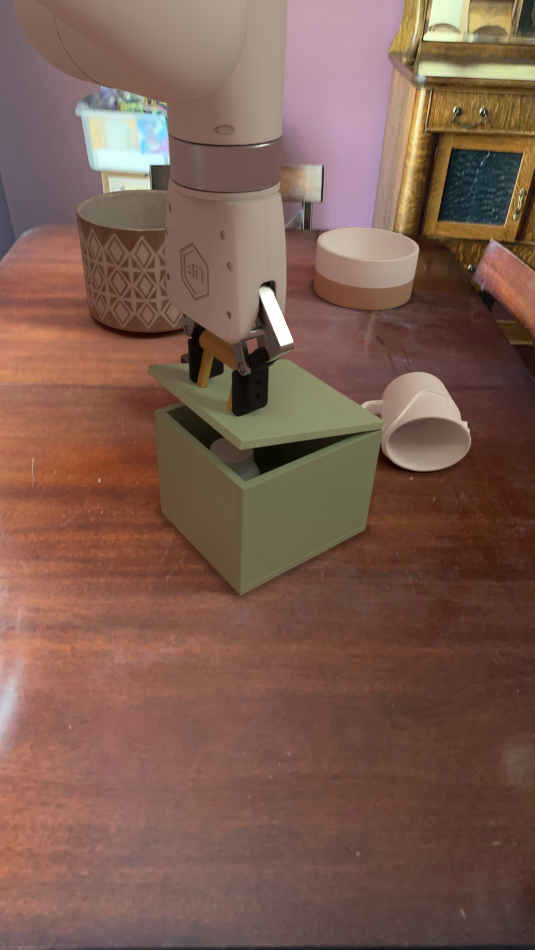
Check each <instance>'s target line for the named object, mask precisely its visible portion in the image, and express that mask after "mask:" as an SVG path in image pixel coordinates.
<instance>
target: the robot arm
mask: <svg viewBox="0 0 535 950" xmlns="http://www.w3.org/2000/svg"><path fill="white" fill-rule="evenodd" d="M12 5H13V10H14V13H15V17H16V20H17V22H18V25H19V27H20V29H21V31H22V33H23V35H24V37H25V38H26V40H27V41H28V43H29V44H30V45H31V47H32V48H33V49H34V51H35V52H36V53H38V55H39V56H40V57H41V58H43V60H45V61H46V62H47V63H48V64H49V65H50V66H52V67H54V69H56V70H58V71H60V72H62V73H63V74H65V75H67V76H70V77H72V78H74V79H77V80H80V81H83V82H87V83H91V84H94V85H98V86H101V87H104V88H108V89H114V90H118V91H122V92H125V93H130V94H132V95H136V96H139V97H143V98H146V99H149V100H153V101H157V102H160V103H164V104H166V120H167V139H168V154H169V155H168V156H169V172H170V175H169V179H168V184H167V190H166V191H167V201H166V217H165V269H166V288H167V296H168V299H169V301H170V302H171V303H172V305H173V306H174V307H176V308H177V309H178V310H179V311H181V312H182V313H183V315H184V318H185V321H184V328H183V331H184V334H185V336H186V337H188V339H187V353H188V356H189V377H190V380H191V381H193V382H194V383H197V380H198V375H199V370H200V366H201V361H202V356H203V351H204V349H203V348H202V347H201V346H200V344H199V338H200V335H201V334H202V332H203V331H205V330H209V331H210V332H212V333H213V334H215V335H216V336H217V337H219V338H221V339H222V340H224V341H226V342H228V343H232V344H233V349H234V354H235V359H236V364H237V370H234V371H232V412H233V414H235V415H236V416H237V417H239V416H242V415H245V414H247V413H250V412H253V411H255V410H258V409H260V408H263V407H265V406H266V405H267V403H268V380H269V367H271V366H273V365H274V362H276V361H277V360H278V359H282V357H284V356H285V355H287V354H288V353H290V352H291V351H293V350H294V349H295V342H294V339H293V336H292V334H291V331H290V329H289V327H288V324H287V322H286V319H285V313H286V312H285V311H286V302H287V241H286V240H287V239H286V229H285V228H286V227H285V217H284V207H283V198H282V193H281V192H280V189H281V178H282V177H281V175H282V154H283V153H282V147H283V124H284V123H283V122H284V98H285V74H286V72H285V71H286V48H287V47H286V46H287V45H286V43H287V22H288V21H287V19H288V0H12ZM252 339H253V340H254V339H255V340H256V344H257V348H255V349H254V350H253V351H252V352H251V353H249V349H248V343H247V341H250V340H252ZM249 354H250V355H249ZM223 372H224V363H222V362H221V361H220V360H218V359H217V358H215V357H213V361H212V366H211V371H210V376H209V378H212V377H215V376H218V375H221V374H223Z"/></svg>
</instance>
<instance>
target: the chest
mask: <svg viewBox="0 0 535 950" xmlns="http://www.w3.org/2000/svg"><path fill="white" fill-rule="evenodd" d="M153 414H154V424H155V425H154V426H155V441H156V443H155V444H156V457H157V470H158V471H157V472H158V484H159V500H160V513H162V514H163V515H164V516H165V518H167V520H168V521H169V522H171V524H172V525H173V526H174V527H175V528H176V529H177V530H178V531H179V532H180V534H182V536H183V537H184V538H185V539H186V540H187V541H188V542H189V543H190V544H191V545H192V547H194V548H195V549H196V550H197V552H198V553H200V555H201V556H202V557H203V558H204V559H205V560H206V561H207V562H208V563H209V564H210V565H211V567H212V568H214V570H215V571H216V572H217V573H218V574H219V575H220V576H221V577H222V578H223V579H224V580H225V581H226V582H227V584H228V585H229V586H230V587H231V588H232V589H233V590H234V591H235V592H236V593H237V594H238V595H239V596H242V595H245V594H246V593H248V592H250V591H252V590H254V589H256V588H258V587H260V586H262V585H264V584H265V583H267V582H269V581H272V580H273V579H275V578H277V577H279V576H281V575H282V574H284V573H286V572H288V571H290V570H292V569H294V568H296V567H298V566H299V565H302V564H304V563H305V562H307V561H309V560H311V559H313V558H315V557H316V556H318V555H320V554H322V553H325V552H326V551H328V550H330V549H332V548H334V547H336V546H337V545H339V544H342V543H343V542H345V541H347V540H349V539H351V538H353V537H355V536H357V535H358V534H360V533H363V532H364V531H365V530H366V528H367V527H366V526H367V521H368V516H369V510H370V504H371V498H372V492H373V487H374V482H375V477H376V471H377V465H378V459H379V454H380V453H379V452H380V448H381V443H380V442H381V437H382V431H383V429H378V430H371V431H365V432H358V433H351V434H344V435H338V436H331V437H324V438H317V439H311V440H304V441H297V442H290V443H284V444H277V445H270V446H263V447H257V448H253V449H254V461H253V462H254V463H255V464H256V465H257V466H258V468H259V471H260V476H257V477H255V478H253V479H250V480H248V481H246V482H245V481H244V480H243V479H242V478H241V477H240V476H238V475H237V474H236V473H235V472H234V471H233V470H232V469H230V468H229V467H228V466H227V465H226V464H225V463H224V462H222V461H221V460H220V459H219V458H218V457H217V456H216V455H214V454H213V453H212V452H211V451H210V447H211V445H212V444H213V443H214V442H215V441H217V440H219V439H221V438H225V437H224V436H222V435H221V434H220V433H219V432H218V431H216V430H215V429H214V428H213V427H212V426H210V425H209V424H208V423H207V422H206V421H204V420H203V419H202V418H201V417H200V416H198V415H197V414H196V413H195V412H194V411H192V410H191V409H190V408H189V407H188V406H186V405H185V404H184V403H183V402H182V401H179V402H176V403H173V404H170V405H167V406H164V407H161V408H157V409H154V410H153Z"/></svg>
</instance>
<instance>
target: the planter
mask: <svg viewBox="0 0 535 950" xmlns="http://www.w3.org/2000/svg"><path fill="white" fill-rule="evenodd" d="M167 191H168V190H165V189H164V190H163V189H125V190H124V189H123V190H116V191H109V192H104V193H100V194H96V195H93V196H90V197H88V198H86V199H84V200H82V201H81V202H79V204H77V206H76V208H75V212H76V213H75V214H76V222H77V229H78V236H79V237H78V238H79V246H80V253H81V261H82V269H83V276H84V278H83V279H84V285H85V293H86V301H87V308H88V311H89V314H90V315H91V316H92V317H93V318H94V319H95V320H96V321H97V322H99V323H101V324H102V325H104V326H107V327H109V328H113V329H117V330H120V331H125V332H126V331H127V332H132V333H165V332H171V331H172V332H173V331H177V330H182V329H184V321H185V318H184V315H183V313H182V312H181V311H179V310H178V309H177V308H176V307H174V306H173V305H172V303H171V302H170V301H169V299H168V296H167V288H166V269H165V217H166V201H167Z"/></svg>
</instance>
